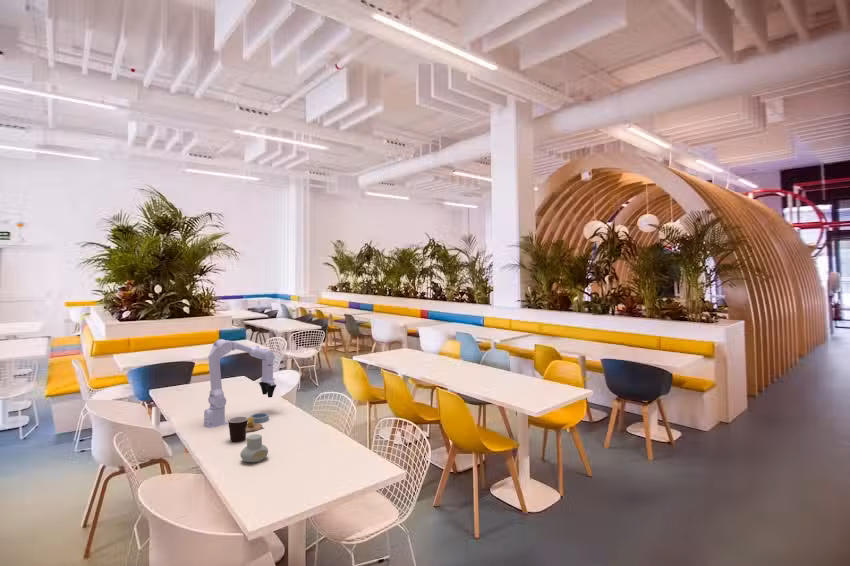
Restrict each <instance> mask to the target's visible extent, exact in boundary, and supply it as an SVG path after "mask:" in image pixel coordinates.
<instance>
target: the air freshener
mask: <svg viewBox="0 0 850 566" xmlns="http://www.w3.org/2000/svg"><path fill="white" fill-rule="evenodd" d="M246 437H247V438H246V446H245V447H244V448H243V449H242V450H241V451H240V458H241V460H243V461H244V462H246V463H251V464H252V463H259V462H261V461H262V460H264V459H265V458H266V457H267V456H268V453H269V449H268V447H267V446H266V445H265V444H263V441H262V440H263V436H262V435H261V434H257V433H256V434H255V433H254V434H251V435H249V436H246Z"/></svg>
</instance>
